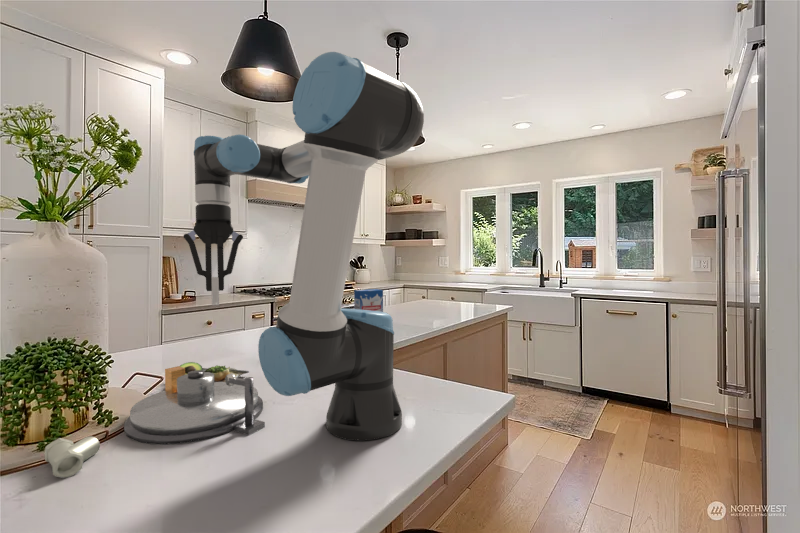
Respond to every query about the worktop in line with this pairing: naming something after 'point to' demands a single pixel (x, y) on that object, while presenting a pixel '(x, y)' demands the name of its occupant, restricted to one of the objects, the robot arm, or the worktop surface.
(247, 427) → the stand
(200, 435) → the turntable base
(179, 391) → the cast cover
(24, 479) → the worktop surface
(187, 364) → the salad plate
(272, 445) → the worktop surface
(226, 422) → the turntable
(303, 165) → the robot arm
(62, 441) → the pipe fitting
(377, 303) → the milk carton
